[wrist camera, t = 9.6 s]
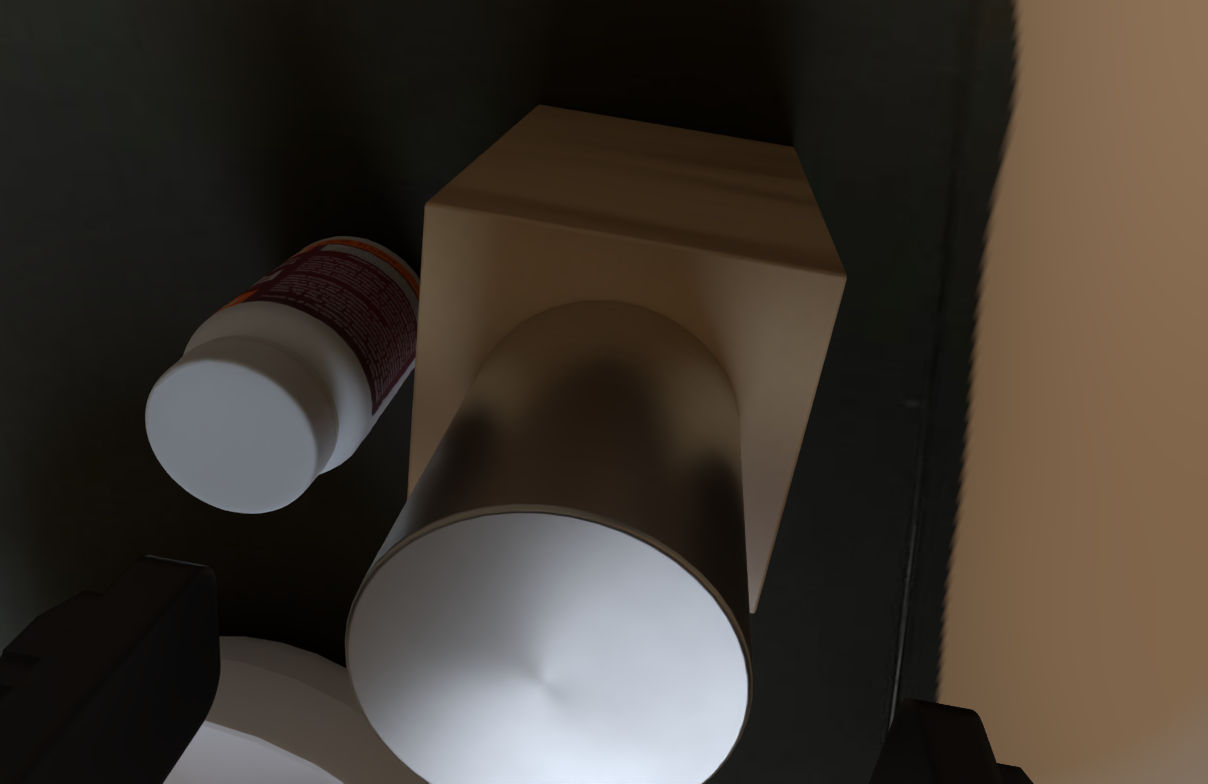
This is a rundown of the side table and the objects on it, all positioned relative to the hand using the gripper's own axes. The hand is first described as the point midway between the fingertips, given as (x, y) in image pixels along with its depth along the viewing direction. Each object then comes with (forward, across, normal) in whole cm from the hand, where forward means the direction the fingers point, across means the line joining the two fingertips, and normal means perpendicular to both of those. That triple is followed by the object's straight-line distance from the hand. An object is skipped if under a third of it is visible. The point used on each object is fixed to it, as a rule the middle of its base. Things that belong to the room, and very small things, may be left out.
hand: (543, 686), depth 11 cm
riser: (+18, 0, 0) cm, 18 cm away
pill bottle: (+18, +8, +3) cm, 20 cm away
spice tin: (+6, 0, 0) cm, 7 cm away
